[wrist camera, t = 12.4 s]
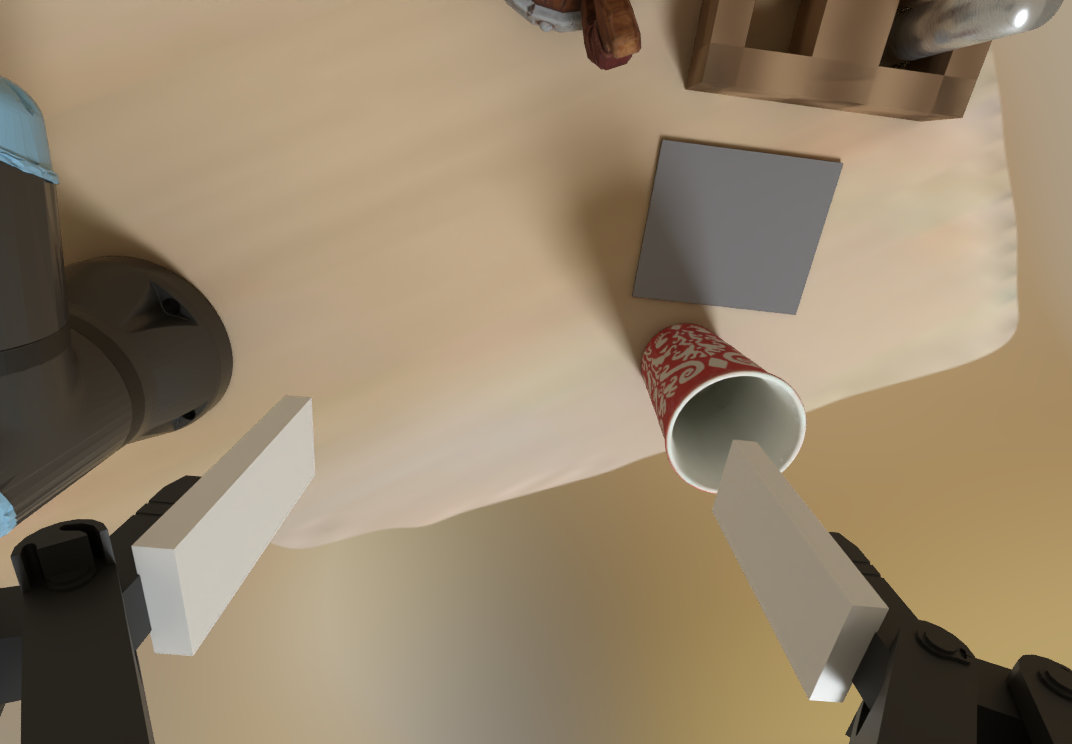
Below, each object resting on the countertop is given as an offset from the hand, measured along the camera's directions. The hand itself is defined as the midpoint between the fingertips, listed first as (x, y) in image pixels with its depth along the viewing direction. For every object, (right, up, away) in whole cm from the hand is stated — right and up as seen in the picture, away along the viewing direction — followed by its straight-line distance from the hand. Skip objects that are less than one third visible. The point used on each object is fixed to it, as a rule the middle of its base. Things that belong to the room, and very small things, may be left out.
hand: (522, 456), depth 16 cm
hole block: (+21, +26, +20) cm, 39 cm away
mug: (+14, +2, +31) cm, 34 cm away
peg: (+25, +26, +21) cm, 42 cm away
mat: (+16, +14, +26) cm, 33 cm away
